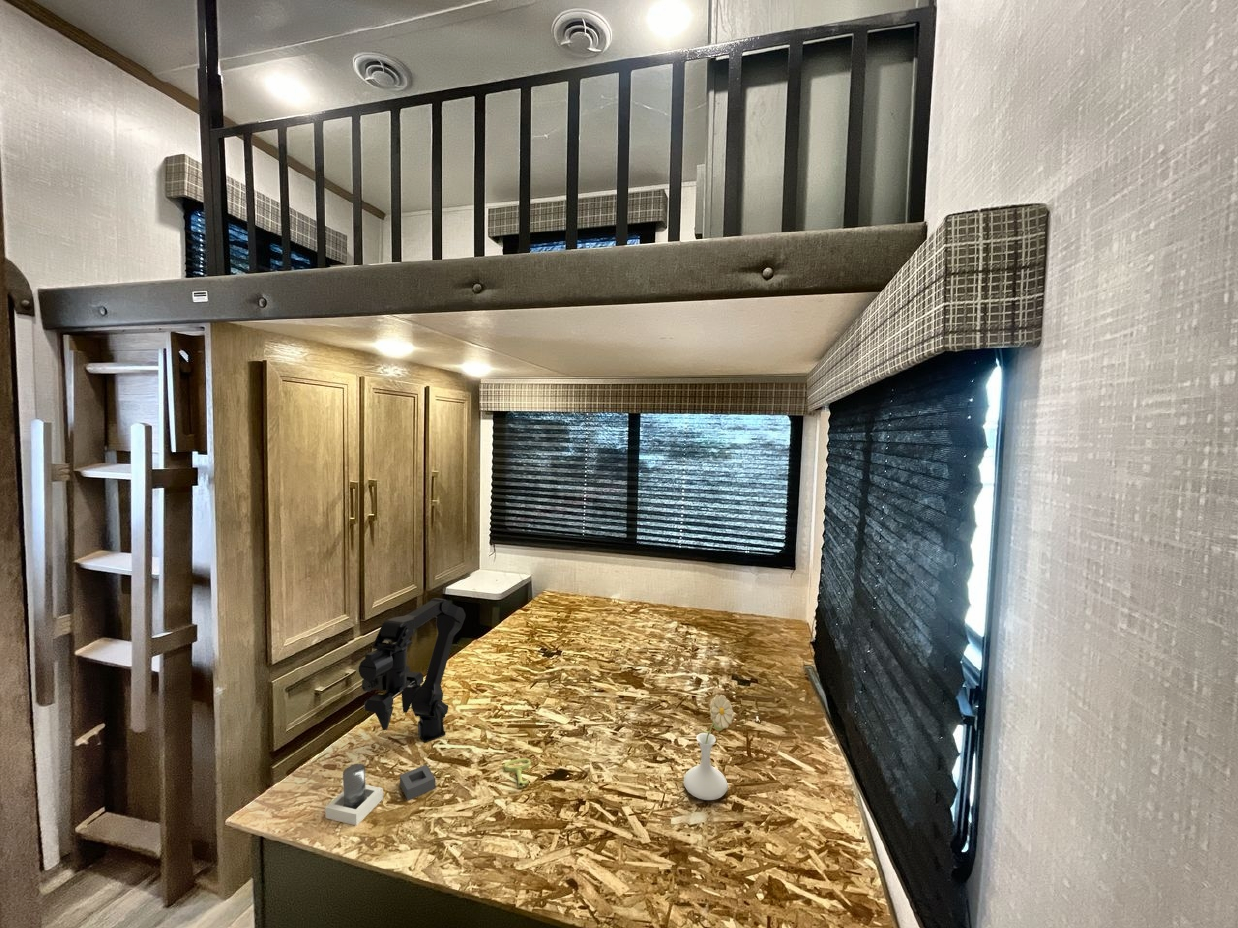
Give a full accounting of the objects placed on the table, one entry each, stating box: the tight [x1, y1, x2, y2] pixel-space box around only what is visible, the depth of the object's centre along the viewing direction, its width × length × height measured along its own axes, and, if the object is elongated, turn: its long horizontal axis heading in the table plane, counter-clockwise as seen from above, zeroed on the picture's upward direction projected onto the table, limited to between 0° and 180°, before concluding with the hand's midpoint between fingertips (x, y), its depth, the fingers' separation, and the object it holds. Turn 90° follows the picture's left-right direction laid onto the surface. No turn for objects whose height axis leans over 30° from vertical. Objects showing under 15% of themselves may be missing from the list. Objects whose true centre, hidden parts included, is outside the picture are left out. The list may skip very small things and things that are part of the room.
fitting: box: [342, 763, 367, 809], centre depth 125 cm, size 5×5×9 cm
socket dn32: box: [399, 764, 437, 801], centre depth 132 cm, size 7×7×3 cm
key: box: [503, 758, 532, 788], centre depth 138 cm, size 7×12×2 cm, turn 35°
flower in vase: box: [683, 694, 734, 801], centre depth 131 cm, size 13×11×25 cm
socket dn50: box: [324, 784, 384, 826], centre depth 125 cm, size 9×9×3 cm
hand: (395, 720), depth 140 cm, fingers open, 9 cm apart
